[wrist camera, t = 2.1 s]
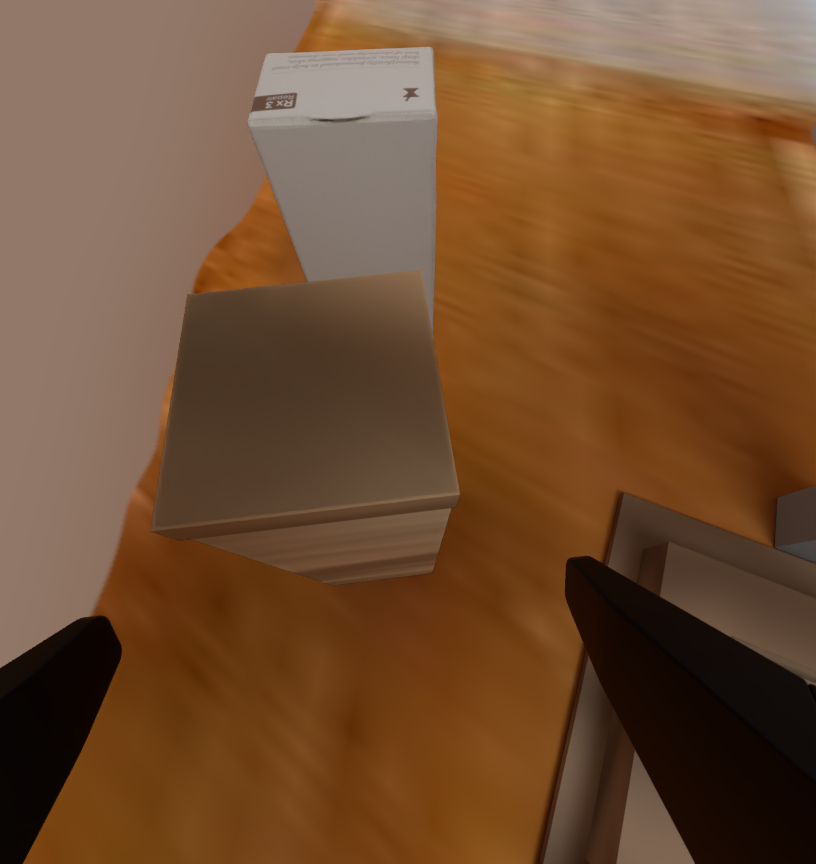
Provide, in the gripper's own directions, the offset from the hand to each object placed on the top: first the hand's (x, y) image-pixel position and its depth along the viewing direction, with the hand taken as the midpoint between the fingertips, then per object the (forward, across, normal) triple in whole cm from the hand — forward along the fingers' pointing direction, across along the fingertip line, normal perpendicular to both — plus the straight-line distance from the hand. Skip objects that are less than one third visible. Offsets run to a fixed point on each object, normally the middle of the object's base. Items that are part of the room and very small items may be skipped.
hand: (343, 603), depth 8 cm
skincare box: (+18, -1, -3) cm, 19 cm away
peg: (+10, 0, +5) cm, 11 cm away
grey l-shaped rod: (+5, -17, +10) cm, 20 cm away
